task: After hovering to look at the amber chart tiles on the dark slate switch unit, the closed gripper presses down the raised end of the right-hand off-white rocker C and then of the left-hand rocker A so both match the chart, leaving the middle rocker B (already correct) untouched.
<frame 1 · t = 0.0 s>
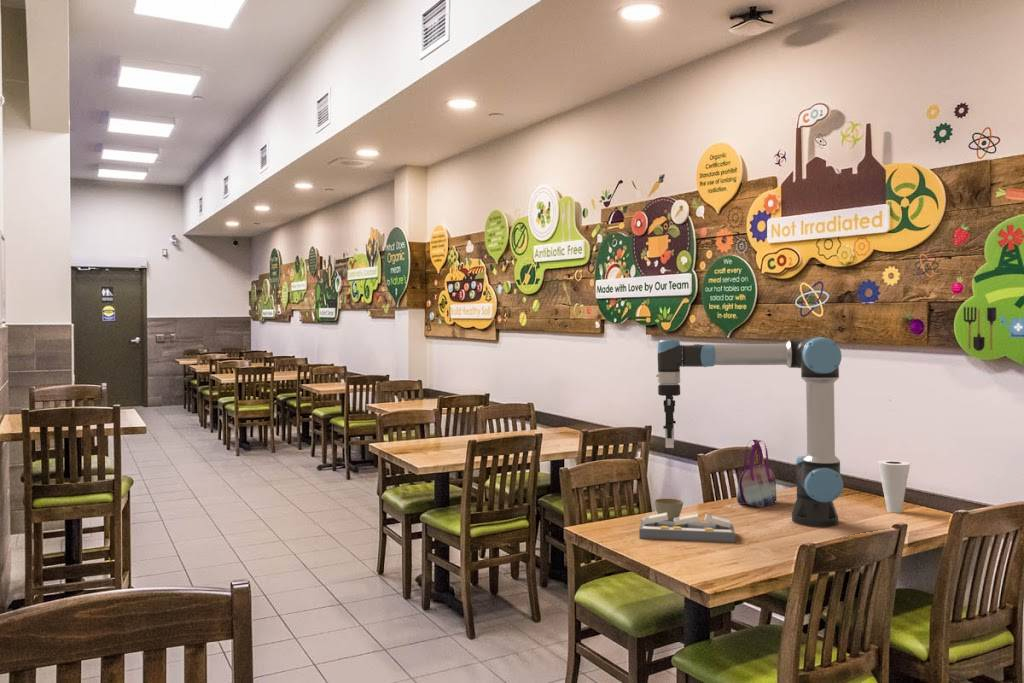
hand: (669, 445, 260), 28 cm above the table, fingers open, 13 cm apart
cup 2: (894, 511, 276), on the table
handbag: (756, 504, 291), on the table
rocker C: (655, 518, 250), point 5 cm above the table, hinge at 13.0°
rocker B: (686, 519, 247), point 5 cm above the table, hinge at 13.0°
flower pot: (668, 521, 266), on the table
switch unit: (686, 535, 246), on the table
rocker A: (717, 520, 245), point 5 cm above the table, hinge at -13.0°
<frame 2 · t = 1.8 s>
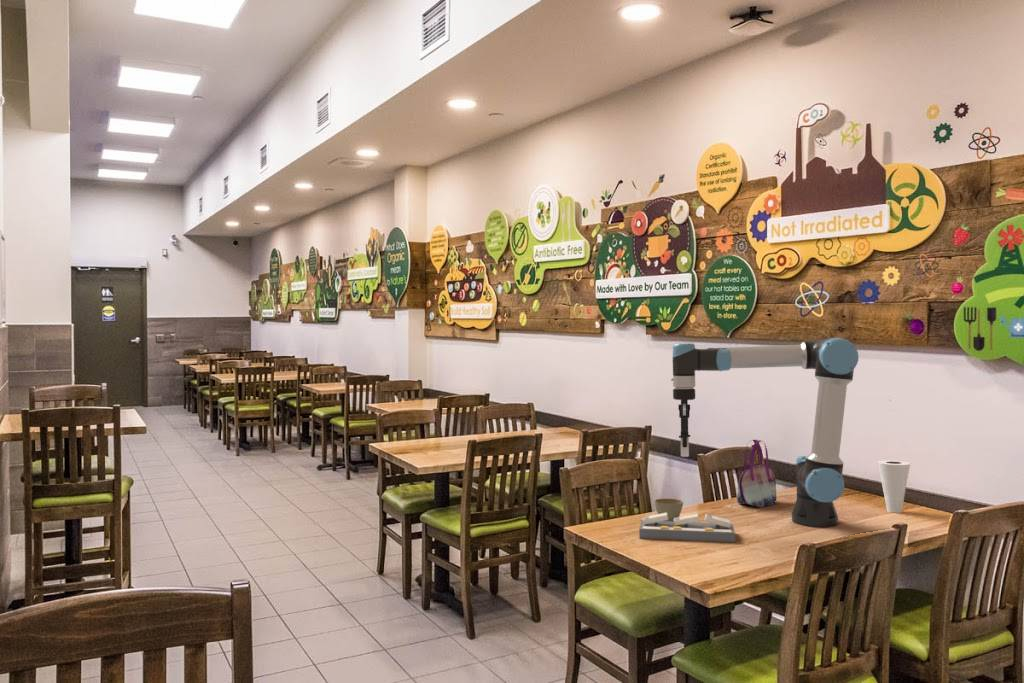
hand: (684, 456, 258), 24 cm above the table, fingers closed
nothing on the table moved.
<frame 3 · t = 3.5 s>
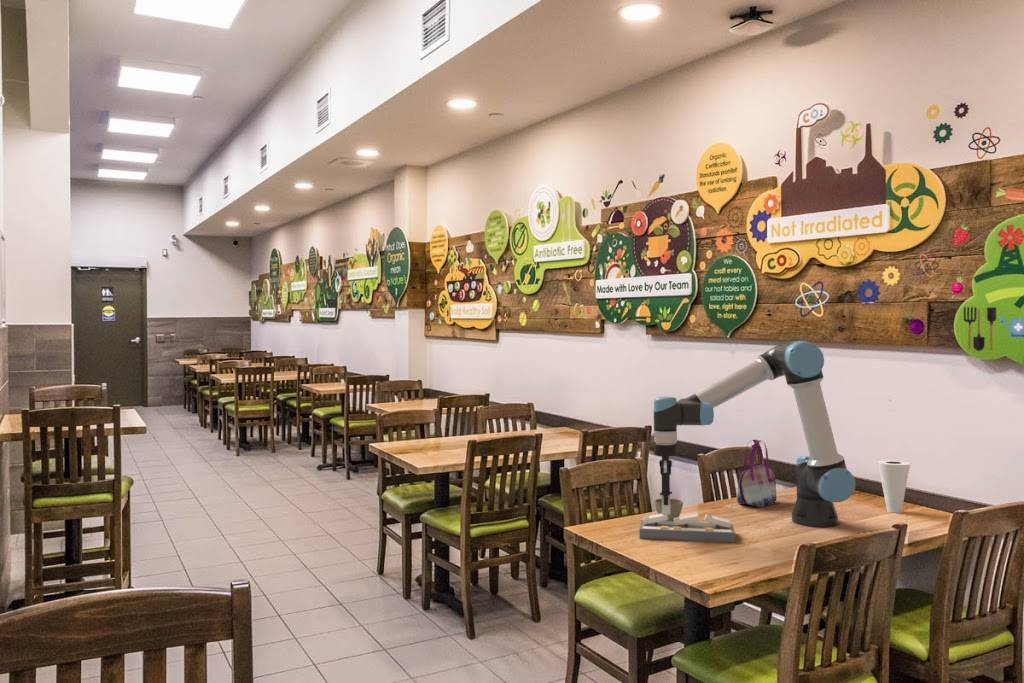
hand: (666, 514, 249), 7 cm above the table, fingers closed
rocker C: (655, 518, 250), point 5 cm above the table, hinge at 12.6°, touching gripper
everything else where it was.
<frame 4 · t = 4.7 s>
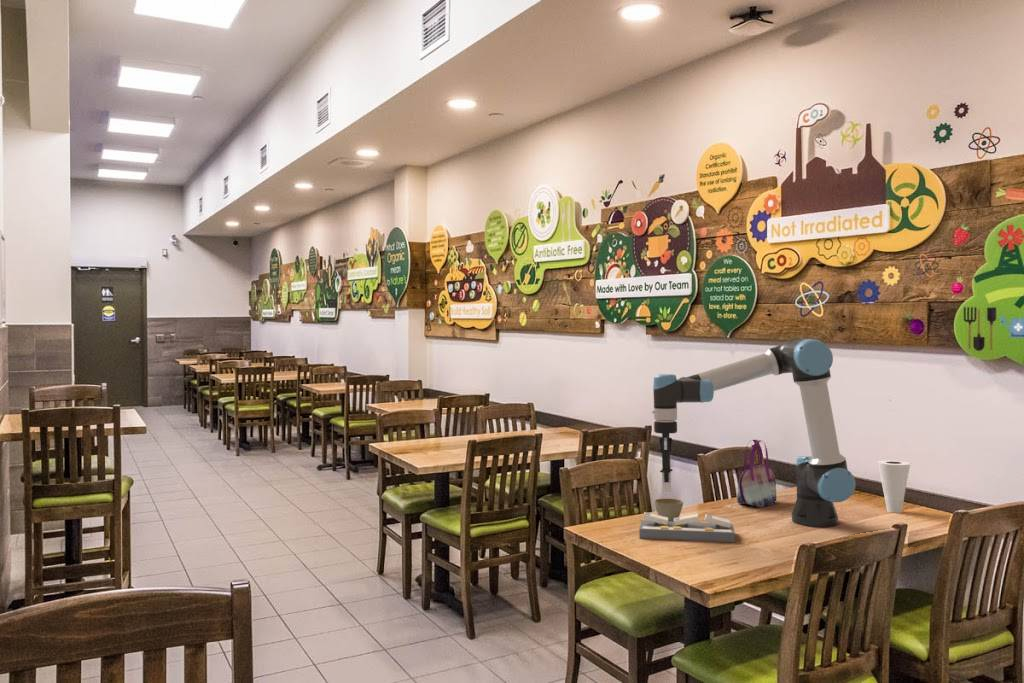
hand: (666, 491, 249), 14 cm above the table, fingers closed
rocker C: (655, 518, 250), point 5 cm above the table, hinge at -11.8°
everything else where it was.
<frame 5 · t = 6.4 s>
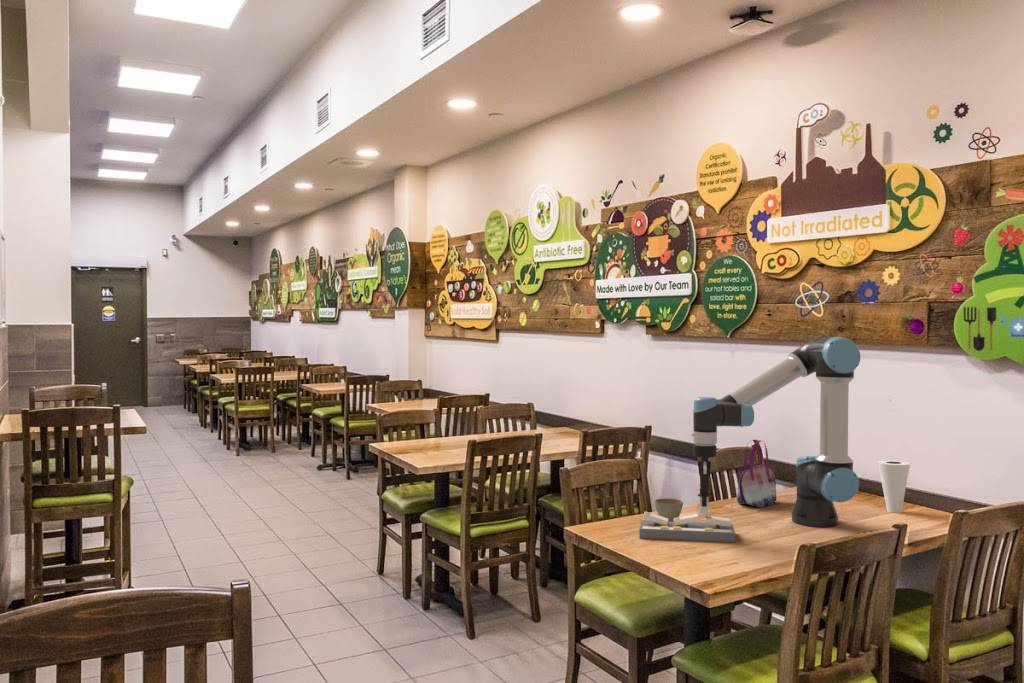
hand: (703, 515, 246), 7 cm above the table, fingers closed
rocker C: (655, 518, 250), point 5 cm above the table, hinge at -15.9°
rocker A: (717, 520, 245), point 5 cm above the table, hinge at -6.2°, touching gripper
everything else where it was.
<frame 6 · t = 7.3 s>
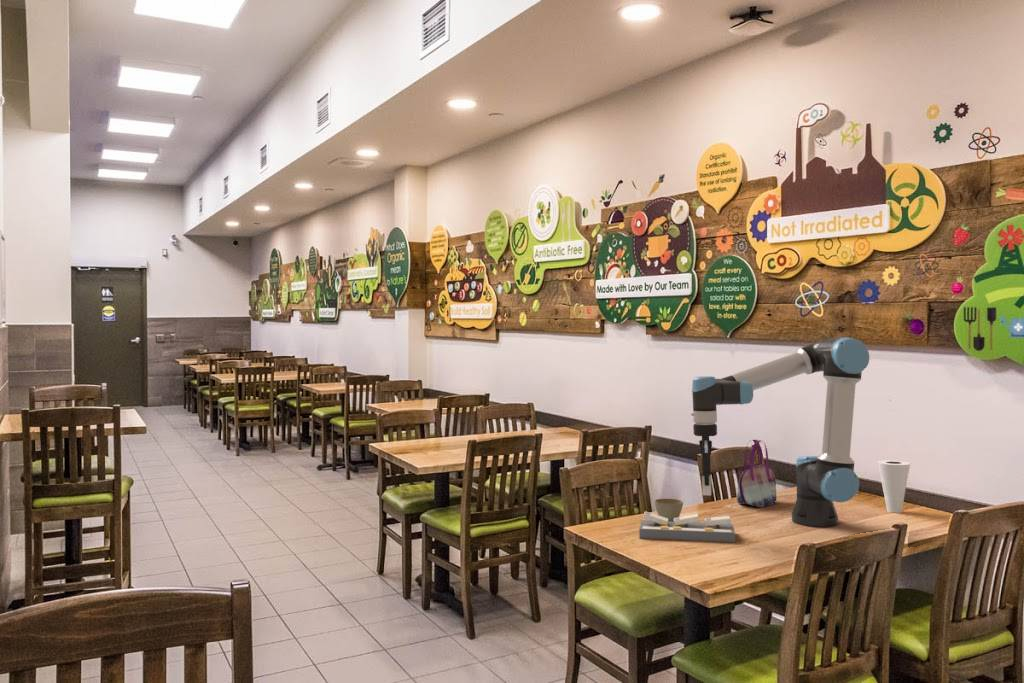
hand: (706, 494, 246), 13 cm above the table, fingers closed
rocker A: (717, 520, 245), point 5 cm above the table, hinge at 7.8°
everything else where it was.
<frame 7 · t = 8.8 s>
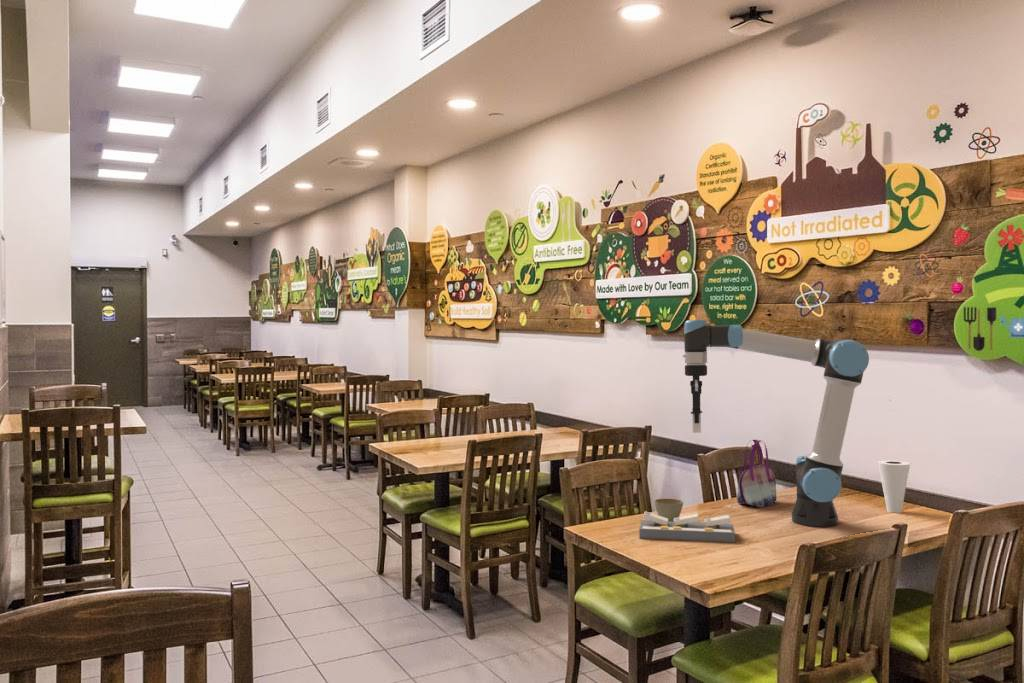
hand: (696, 432, 259), 32 cm above the table, fingers closed
rocker A: (717, 520, 245), point 5 cm above the table, hinge at 11.8°
everything else where it was.
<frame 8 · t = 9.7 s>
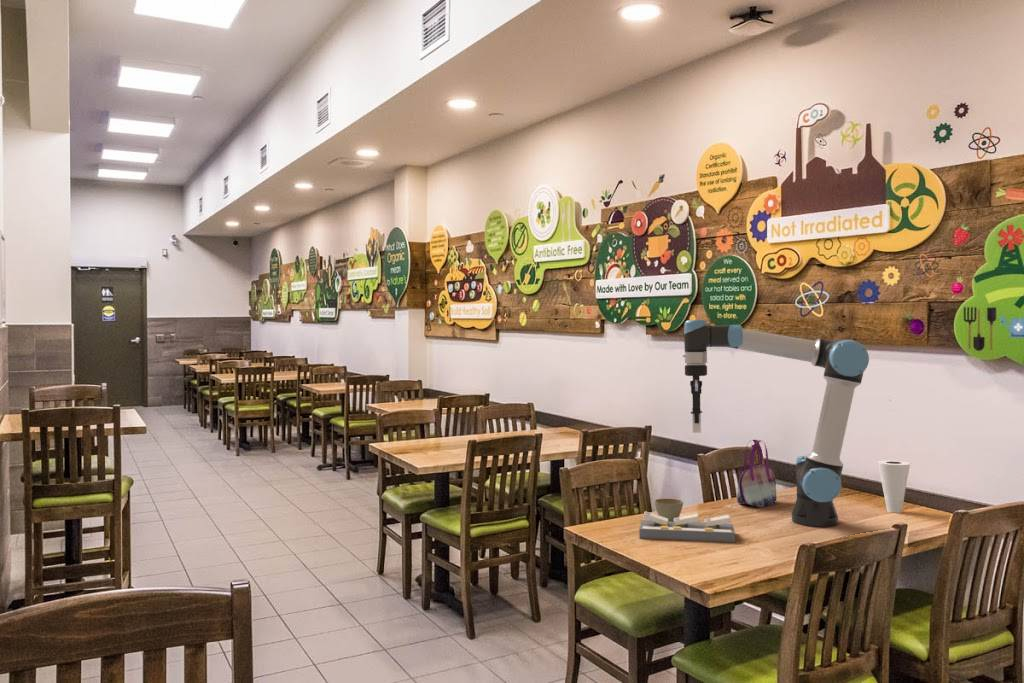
hand: (696, 432, 259), 32 cm above the table, fingers closed
rocker A: (717, 520, 245), point 5 cm above the table, hinge at 12.2°
everything else where it was.
at the end: rocker A at +12° (first picture: -13°); rocker C at -16° (first picture: +13°); rocker B at +13° (first picture: +13°) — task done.
